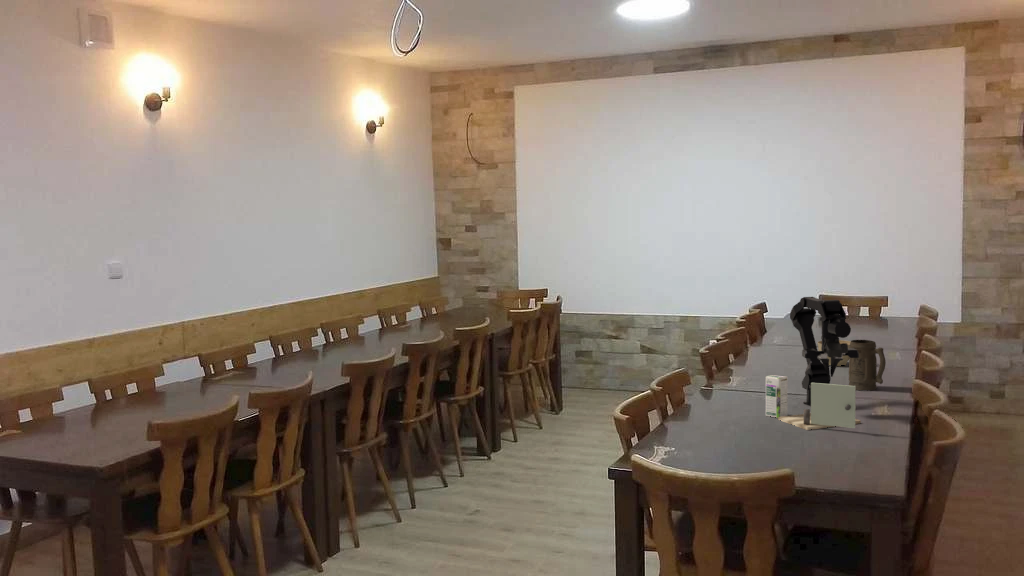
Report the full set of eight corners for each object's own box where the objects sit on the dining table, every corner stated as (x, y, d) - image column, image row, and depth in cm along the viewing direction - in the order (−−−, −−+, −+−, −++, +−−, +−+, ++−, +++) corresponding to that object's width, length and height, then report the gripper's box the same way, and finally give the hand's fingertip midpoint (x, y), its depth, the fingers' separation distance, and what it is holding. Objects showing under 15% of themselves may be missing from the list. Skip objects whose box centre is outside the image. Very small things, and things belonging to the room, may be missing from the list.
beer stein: (841, 388, 345) (845, 340, 342) (854, 384, 352) (857, 337, 349) (878, 395, 333) (882, 346, 331) (890, 391, 341) (894, 343, 338)
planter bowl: (810, 363, 402) (810, 341, 402) (838, 361, 407) (838, 339, 406) (832, 369, 387) (832, 345, 386) (861, 366, 392) (861, 343, 391)
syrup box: (764, 416, 302) (764, 376, 300) (774, 413, 305) (773, 374, 304) (778, 418, 297) (778, 378, 296) (788, 415, 301) (787, 376, 300)
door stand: (777, 419, 296) (777, 403, 295) (829, 413, 302) (829, 397, 302) (807, 430, 280) (807, 412, 280) (860, 423, 287) (860, 406, 287)
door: (811, 423, 284) (811, 382, 283) (855, 427, 276) (855, 386, 275) (809, 424, 282) (809, 384, 281) (853, 429, 274) (853, 387, 273)
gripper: (808, 337, 296) (808, 381, 297) (863, 336, 294) (863, 380, 295) (801, 333, 307) (801, 375, 308) (854, 332, 305) (854, 374, 306)
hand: (830, 376), depth 304 cm, fingers closed
